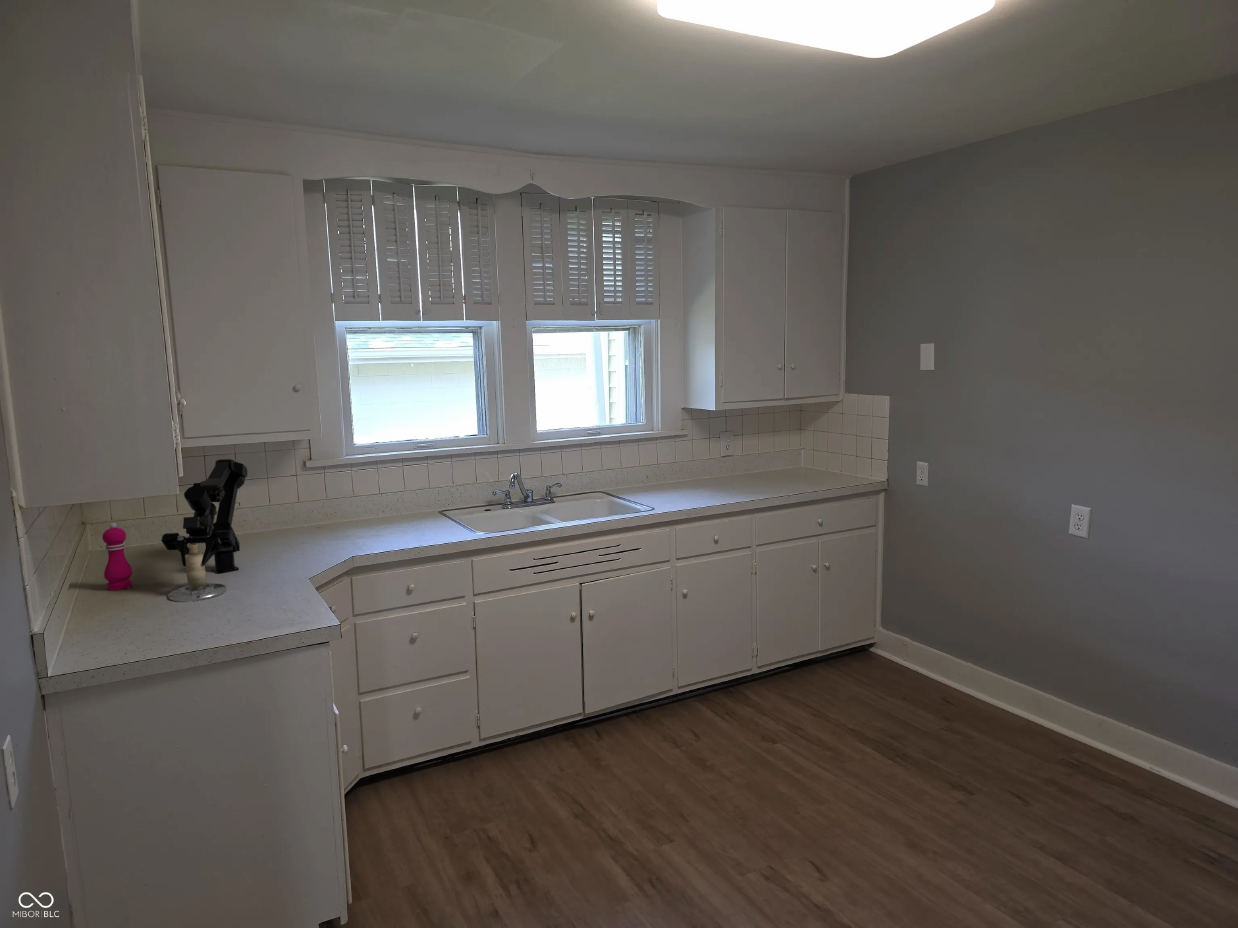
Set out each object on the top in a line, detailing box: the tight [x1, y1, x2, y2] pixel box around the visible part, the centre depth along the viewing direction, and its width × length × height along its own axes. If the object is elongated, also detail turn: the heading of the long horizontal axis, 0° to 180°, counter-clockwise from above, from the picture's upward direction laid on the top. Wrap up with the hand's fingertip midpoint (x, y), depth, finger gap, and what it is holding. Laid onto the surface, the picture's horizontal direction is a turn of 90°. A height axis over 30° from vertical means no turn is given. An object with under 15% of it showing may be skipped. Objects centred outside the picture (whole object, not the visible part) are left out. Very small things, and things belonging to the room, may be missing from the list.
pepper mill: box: [101, 522, 134, 591], centre depth 236 cm, size 7×7×20 cm
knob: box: [185, 543, 207, 588], centre depth 229 cm, size 5×5×13 cm
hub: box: [167, 582, 227, 603], centre depth 230 cm, size 15×15×2 cm
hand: (193, 565), depth 227 cm, fingers closed on knob, 5 cm apart
